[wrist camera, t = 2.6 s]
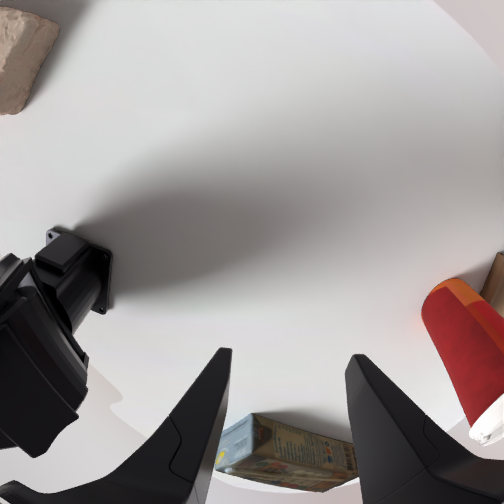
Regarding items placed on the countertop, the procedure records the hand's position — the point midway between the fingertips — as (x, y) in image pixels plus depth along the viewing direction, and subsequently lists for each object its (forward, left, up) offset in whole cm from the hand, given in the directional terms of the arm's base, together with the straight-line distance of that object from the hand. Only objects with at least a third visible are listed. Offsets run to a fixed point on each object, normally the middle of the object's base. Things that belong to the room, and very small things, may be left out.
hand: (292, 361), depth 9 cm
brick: (+9, +29, -13) cm, 33 cm away
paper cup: (-1, -18, -12) cm, 22 cm away
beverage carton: (-27, -14, -12) cm, 33 cm away
